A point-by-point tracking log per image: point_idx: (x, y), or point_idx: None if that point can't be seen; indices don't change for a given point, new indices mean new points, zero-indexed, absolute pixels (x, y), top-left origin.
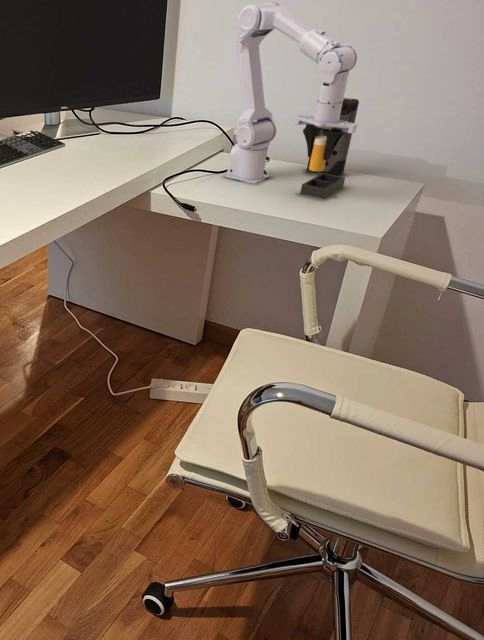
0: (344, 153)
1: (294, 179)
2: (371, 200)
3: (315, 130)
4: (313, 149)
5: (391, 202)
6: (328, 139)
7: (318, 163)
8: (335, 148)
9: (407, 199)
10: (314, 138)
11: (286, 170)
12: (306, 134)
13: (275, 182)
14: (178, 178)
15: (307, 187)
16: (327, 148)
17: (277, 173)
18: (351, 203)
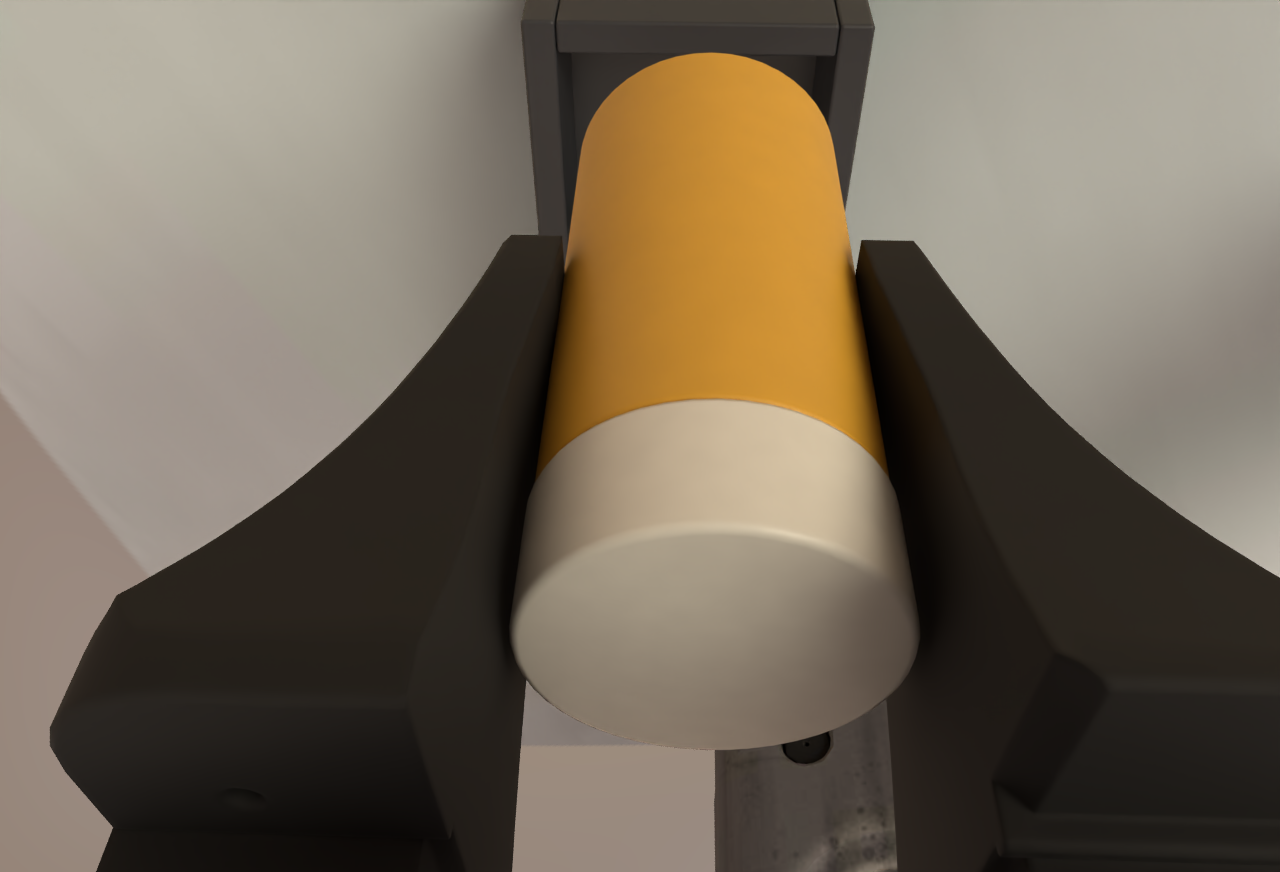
0: (721, 759)
1: (1069, 369)
2: (182, 260)
3: (972, 803)
4: (828, 335)
5: (39, 309)
6: (397, 534)
7: (635, 147)
8: (810, 784)
9: (31, 430)
10: (910, 583)
11: (1198, 517)
12: (1193, 582)
13: (1264, 191)
14: None
15: (779, 9)
16: (460, 375)
17: (1277, 424)
18: (238, 63)
